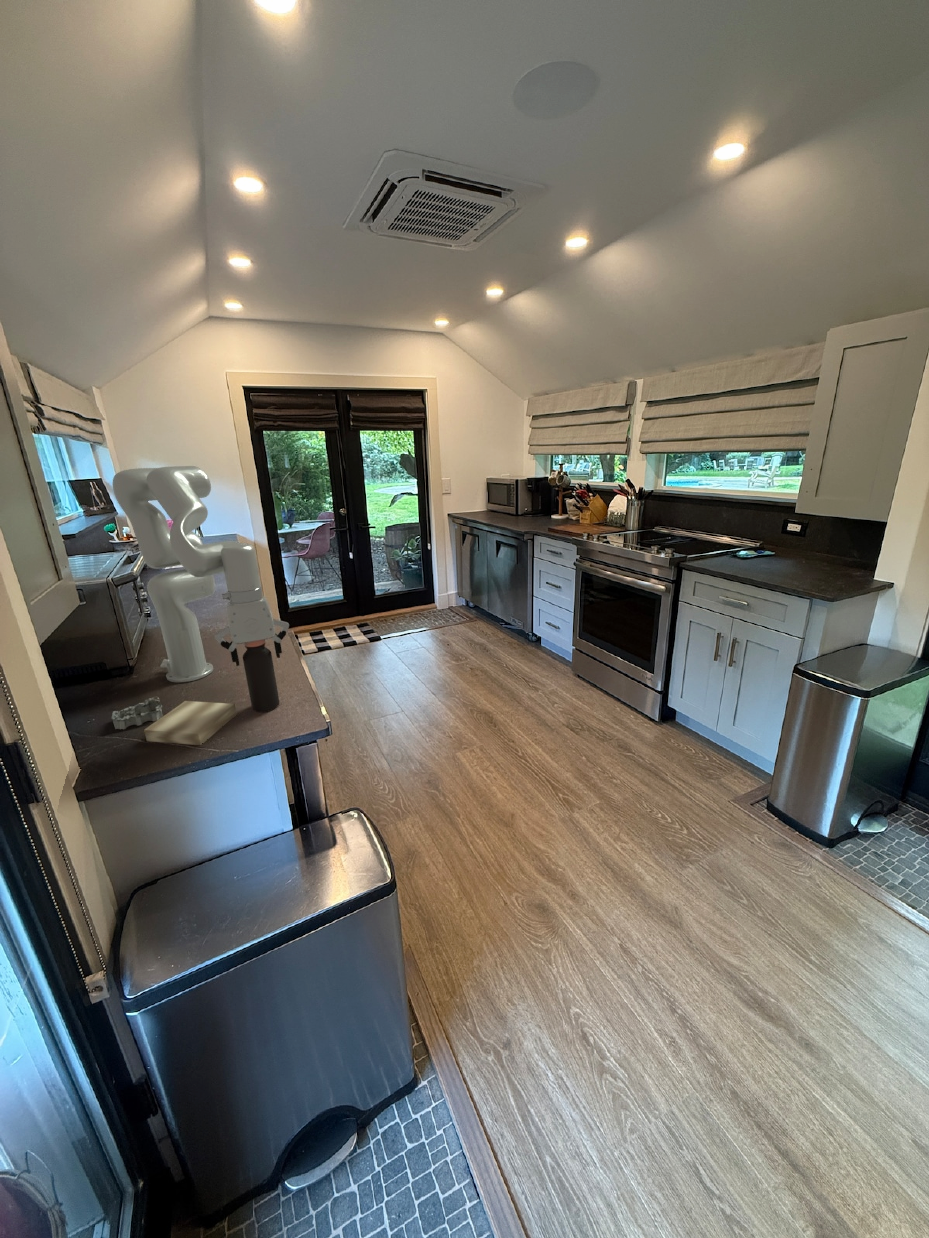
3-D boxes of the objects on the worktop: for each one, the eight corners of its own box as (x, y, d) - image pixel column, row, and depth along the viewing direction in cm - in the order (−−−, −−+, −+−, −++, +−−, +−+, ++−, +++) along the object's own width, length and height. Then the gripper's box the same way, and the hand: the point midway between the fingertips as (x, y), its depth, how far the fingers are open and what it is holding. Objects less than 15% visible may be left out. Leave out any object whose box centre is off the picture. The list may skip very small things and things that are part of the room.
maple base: (146, 741, 115) (143, 729, 114) (187, 711, 128) (185, 700, 127) (200, 745, 112) (198, 733, 111) (236, 714, 125) (234, 703, 124)
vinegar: (264, 715, 125) (251, 642, 118) (246, 709, 128) (233, 637, 121) (285, 703, 130) (273, 633, 124) (267, 698, 133) (255, 629, 127)
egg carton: (163, 708, 130) (160, 694, 129) (163, 721, 124) (160, 706, 122) (115, 719, 125) (111, 705, 124) (112, 732, 119) (108, 718, 117)
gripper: (206, 604, 113) (221, 672, 118) (285, 593, 120) (295, 658, 125) (207, 597, 119) (220, 662, 124) (281, 587, 126) (291, 648, 131)
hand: (258, 660), depth 125 cm, fingers open, 9 cm apart
